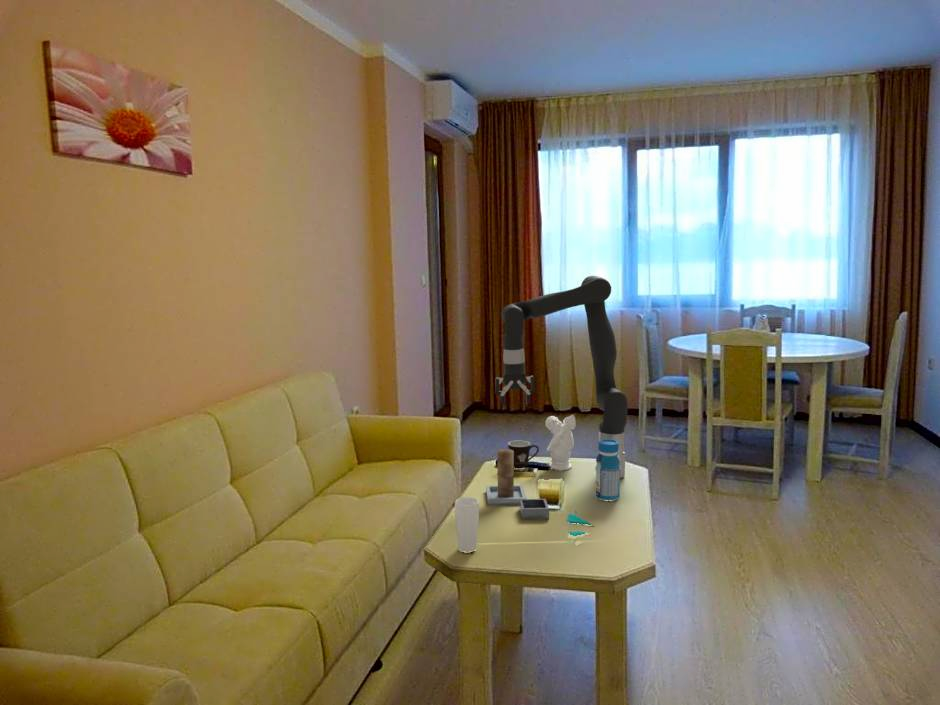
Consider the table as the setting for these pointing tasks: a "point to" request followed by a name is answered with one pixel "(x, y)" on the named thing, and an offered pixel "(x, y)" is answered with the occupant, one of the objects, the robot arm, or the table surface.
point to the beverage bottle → (608, 470)
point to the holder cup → (533, 509)
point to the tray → (495, 500)
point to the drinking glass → (467, 522)
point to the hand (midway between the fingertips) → (515, 405)
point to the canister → (505, 473)
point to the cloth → (576, 520)
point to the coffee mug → (521, 452)
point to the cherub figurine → (561, 441)
